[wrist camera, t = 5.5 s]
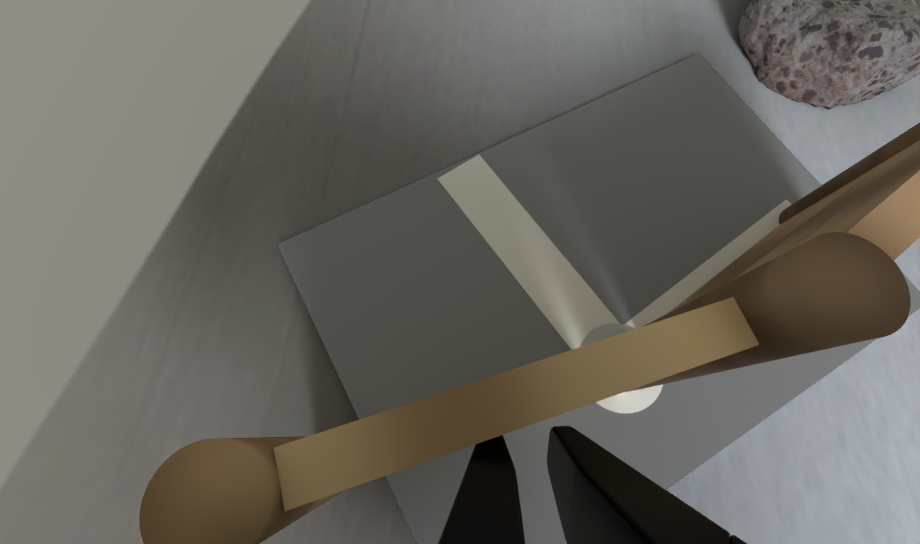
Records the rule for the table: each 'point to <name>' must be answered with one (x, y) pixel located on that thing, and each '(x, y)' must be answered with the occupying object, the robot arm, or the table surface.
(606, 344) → the swing panel
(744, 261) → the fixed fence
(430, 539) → the card
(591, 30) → the table surface
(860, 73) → the rock
